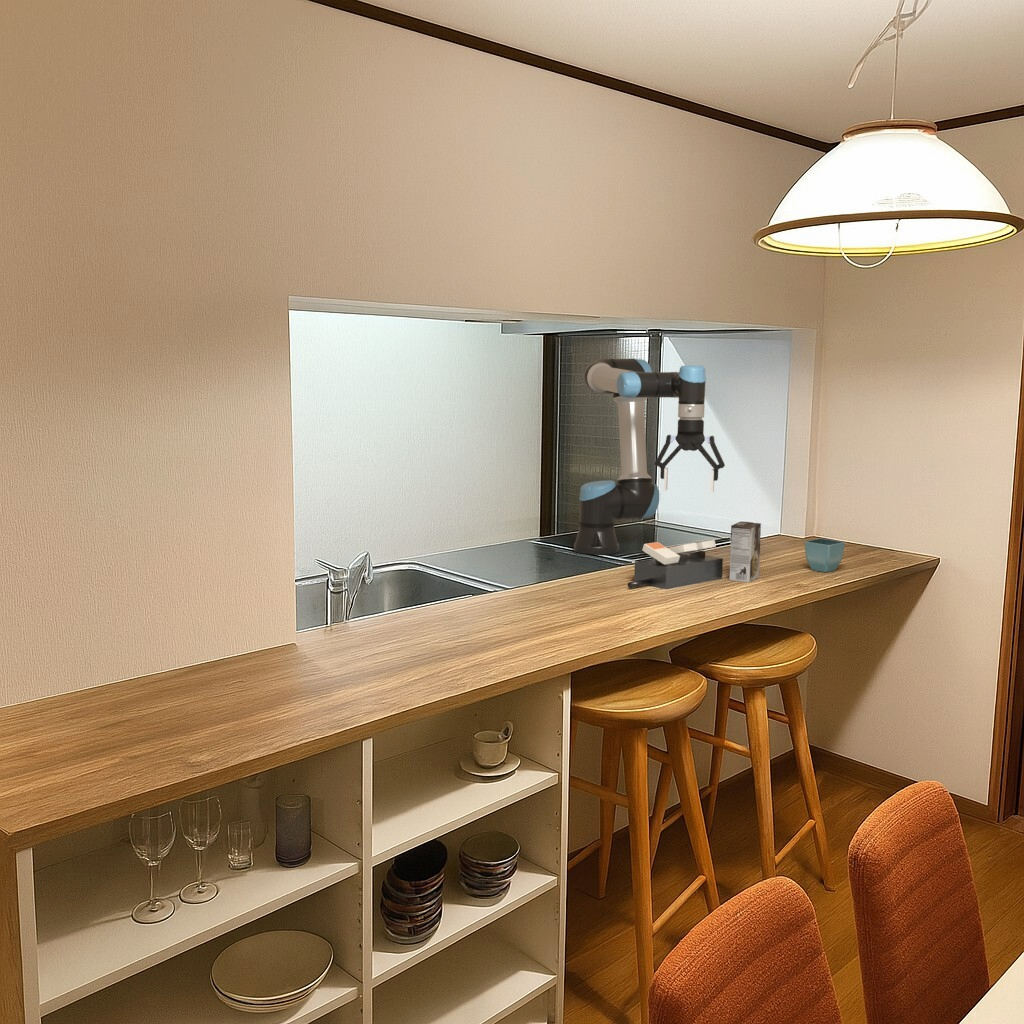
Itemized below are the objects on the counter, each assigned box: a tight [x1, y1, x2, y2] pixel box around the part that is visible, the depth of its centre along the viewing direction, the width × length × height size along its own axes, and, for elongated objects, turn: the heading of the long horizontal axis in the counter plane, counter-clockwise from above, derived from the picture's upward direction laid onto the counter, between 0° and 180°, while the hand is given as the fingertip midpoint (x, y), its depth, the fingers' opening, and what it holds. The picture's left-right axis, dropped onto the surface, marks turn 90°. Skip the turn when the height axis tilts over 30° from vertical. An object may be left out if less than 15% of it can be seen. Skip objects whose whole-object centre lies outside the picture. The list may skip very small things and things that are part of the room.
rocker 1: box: [642, 541, 680, 565], centre depth 274 cm, size 9×6×2 cm, turn 39°
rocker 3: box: [681, 539, 717, 554], centre depth 285 cm, size 9×6×2 cm, turn 38°
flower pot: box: [804, 538, 846, 573], centre depth 296 cm, size 9×9×9 cm
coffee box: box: [728, 521, 762, 583], centre depth 283 cm, size 9×6×16 cm
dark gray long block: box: [627, 550, 724, 590], centre depth 278 cm, size 12×32×7 cm, turn 129°
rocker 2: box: [667, 542, 698, 554], centre depth 280 cm, size 9×6×2 cm, turn 38°
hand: (688, 491), depth 288 cm, fingers open, 13 cm apart
